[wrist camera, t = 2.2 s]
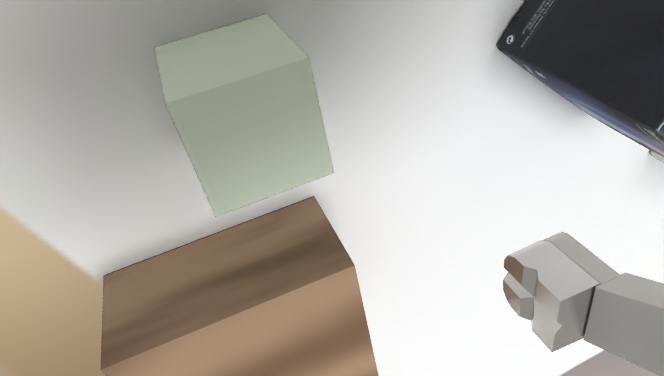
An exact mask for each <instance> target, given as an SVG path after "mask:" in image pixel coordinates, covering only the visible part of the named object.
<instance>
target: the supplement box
mask: <svg viewBox="0 0 664 376" xmlns="http://www.w3.org/2000/svg"><path fill="white" fill-rule="evenodd" d="M651 155H652V156H653V157H655V158H657V159H658V160H660V161H662V162H664V157H662V156H660V155H659V154H657V153H655V152H653V151H651Z"/></svg>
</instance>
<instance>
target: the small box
mask: <svg viewBox="0 0 664 376" xmlns="http://www.w3.org/2000/svg"><path fill="white" fill-rule="evenodd" d="M497 47H498V49H499V50H501V51H502V52H503V53H504V54H506V55H507V56H508V57H510V58H511V59H512V60H514V61H515V62H516V63H518V64H519V65H520V66H522V67H523V68H524V69H526V70H527V71H528V72H530V73H531V74H532V75H534V76H535V77H536V78H538V79H539V80H541V81H542V82H543V83H545V84H546V85H547V86H549V87H550V88H552V89H553V90H554V91H556V92H557V93H559V94H560V95H561V96H563V97H564V98H566V99H567V100H568V101H570V102H571V103H573V104H574V105H576V106H577V107H579V108H580V109H581V110H583V111H584V112H586V113H587V114H589V115H590V116H592V117H594V118H595V119H597V120H599V121H600V122H602V123H604V124H605V125H607V126H609V127H610V128H612V129H614V130H616V131H617V132H619V133H621V134H623V135H625V136H626V137H628V138H630V139H632V140H634V141H635V142H637V143H639V144H641V145H643V146H644V147H646V148H648V149H650V150H651V151H653V152H655V153H657V154H659V155H660V156H662V157H664V0H527V1H526V3H525V4H524V6H523V7H522V9H521V10H520V12H519V13H518V14H517V15H516V16H515V17H514V20H513V21H512V22H511V24H510V26H509V27H508V29H507V30H506V32H505V33H504V35H503V37H502V38H501V40H500V41H499V43H498V45H497Z"/></svg>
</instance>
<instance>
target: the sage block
mask: <svg viewBox="0 0 664 376" xmlns="http://www.w3.org/2000/svg"><path fill="white" fill-rule="evenodd" d="M154 48H155V53H156V58H157V63H158V69H159V74H160V79H161V84H162V89H163V94H164V99H165V104H166V106H167V108H168V110H169V113H170V115H171V117H172V120H173V122H174V124H175V126H176V129H177V131H178V133H179V135H180V138H181V140H182V142H183V144H184V147H185V149H186V151H187V153H188V156H189V158H190V160H191V163H192V165H193V167H194V169H195V172H196V174H197V176H198V178H199V181H200V183H201V185H202V187H203V190H204V192H205V194H206V196H207V199H208V201H209V203H210V206H211V208H212V210H213V212H214V215H215V217H216V216H219V215H222V214H225V213H227V212H230V211H233V210H235V209H238V208H241V207H243V206H246V205H249V204H251V203H254V202H257V201H260V200H262V199H265V198H268V197H270V196H273V195H276V194H278V193H281V192H284V191H286V190H289V189H292V188H294V187H297V186H300V185H303V184H305V183H308V182H311V181H313V180H316V179H319V178H321V177H324V176H327V175H329V174H332V173H334V170H333V166H332V161H331V156H330V152H329V147H328V142H327V138H326V133H325V129H324V124H323V119H322V115H321V110H320V106H319V101H318V96H317V92H316V87H315V82H314V78H313V73H312V69H311V64H310V59H309V57H308V56H307V55H306V54H305V53H304V51H303V50H302V49H301V48H300V47H299V46H298V45H297V44H296V43H295V42H294V41H293V40H292V39H291V38H290V37H289V36H288V35H287V34H286V33H285V32H284V31H283V30H282V29H281V28H280V27H279V26H278V25H277V24H276V23H275V22H274V21H273V20H272V19H271V18H270V17H269V16H268V15H267V14H264V15H261V16H258V17H254V18H251V19H248V20H244V21H241V22H238V23H234V24H231V25H228V26H224V27H221V28H218V29H214V30H211V31H207V32H204V33H201V34H197V35H194V36H191V37H187V38H184V39H181V40H177V41H174V42H171V43H167V44H164V45H161V46H157V47H154Z"/></svg>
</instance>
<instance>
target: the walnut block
mask: <svg viewBox="0 0 664 376" xmlns="http://www.w3.org/2000/svg"><path fill="white" fill-rule="evenodd" d="M101 371H102V372H103V373H104V374H105V375H106V376H378V372H377V367H376V363H375V358H374V353H373V349H372V344H371V339H370V335H369V330H368V325H367V321H366V316H365V312H364V307H363V302H362V298H361V293H360V288H359V284H358V279H357V274H356V270H355V265H354V264H353V262H352V260H351V258H350V257H349V255H348V253H347V252H346V250H345V248H344V246H343V245H342V243H341V241H340V240H339V238H338V236H337V234H336V233H335V231H334V229H333V228H332V226H331V224H330V222H329V221H328V219H327V217H326V216H325V214H324V212H323V211H322V209H321V207H320V205H319V204H318V202H317V200H316V199H315V197H311V198H309V199H306V200H303V201H301V202H298V203H295V204H293V205H290V206H287V207H285V208H282V209H280V210H277V211H274V212H272V213H269V214H266V215H264V216H261V217H258V218H256V219H253V220H250V221H248V222H245V223H242V224H240V225H237V226H235V227H232V228H229V229H227V230H224V231H221V232H219V233H216V234H213V235H211V236H208V237H205V238H203V239H200V240H197V241H195V242H192V243H190V244H187V245H184V246H182V247H179V248H176V249H174V250H171V251H168V252H166V253H163V254H160V255H158V256H155V257H152V258H150V259H147V260H145V261H142V262H139V263H137V264H134V265H131V266H129V267H126V268H123V269H121V270H118V271H115V272H113V273H110V274H107V275H105V276H104V285H103V316H102V345H101Z"/></svg>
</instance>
